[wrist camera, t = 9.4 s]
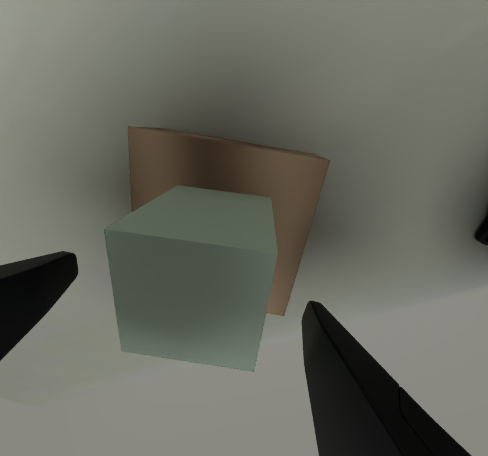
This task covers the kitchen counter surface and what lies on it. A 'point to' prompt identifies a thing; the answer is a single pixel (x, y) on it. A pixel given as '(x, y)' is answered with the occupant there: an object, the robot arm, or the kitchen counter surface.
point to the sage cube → (194, 276)
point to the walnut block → (234, 185)
